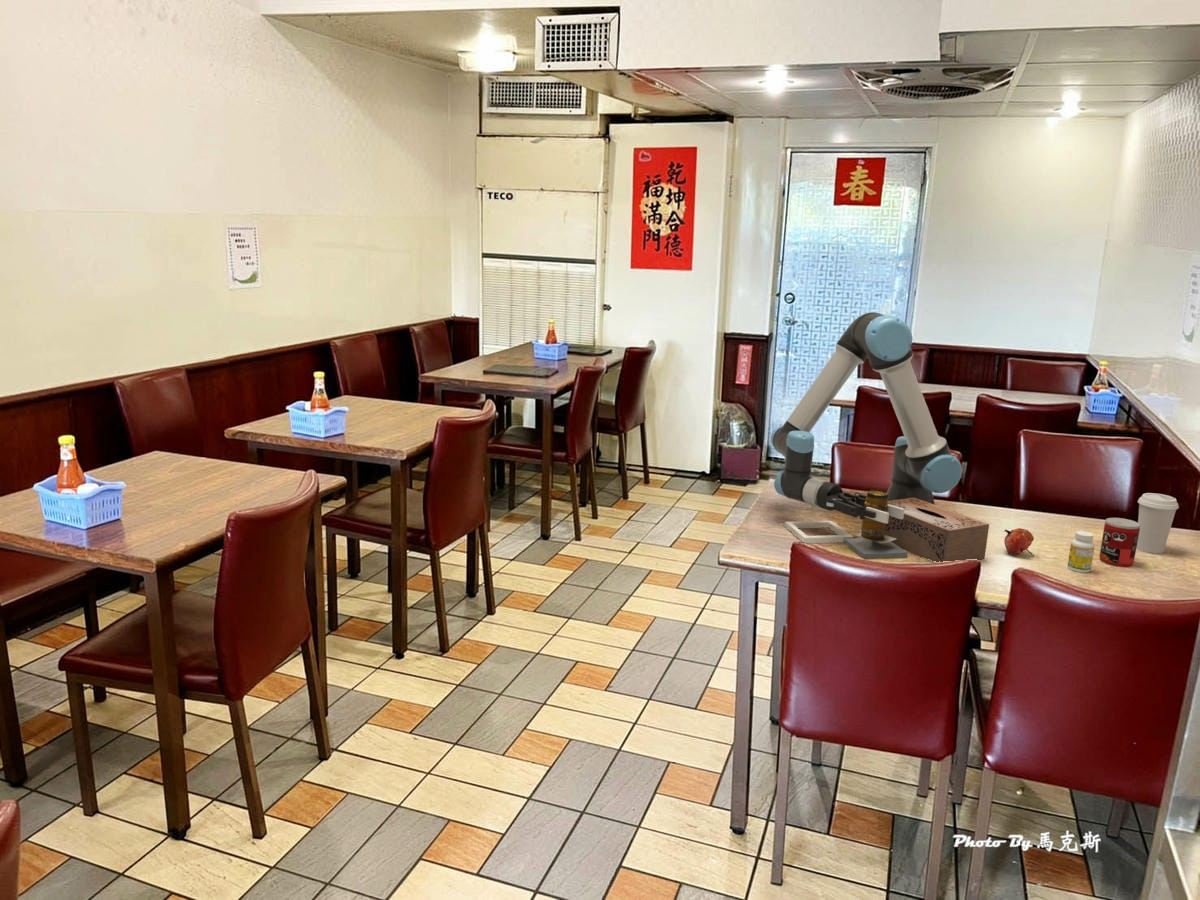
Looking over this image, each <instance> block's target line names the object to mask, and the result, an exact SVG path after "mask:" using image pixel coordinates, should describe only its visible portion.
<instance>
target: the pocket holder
mask: <svg viewBox="0 0 1200 900" xmlns="http://www.w3.org/2000/svg"><path fill="white" fill-rule="evenodd" d="M819 527H820V528H819ZM822 527H824V528H822ZM825 527H829V528H830V529H829V528H828V529H829V530H831V531H832V532H833V531H834V532H833V533H834V534H829V535H825V534H824V535H807V534H806V533H805V532H803V531H802V529H826V528H825ZM784 528H785V529H786V528H787V529H788V530H787V529H786V530H787V531H788V532H790V531H791V532H792V533H793V534H794V535H796V536H797V537H798V538H799V539H800V540H802V542H801V543H803V542H806V544H831V542H832V543H833V544H834V543H837V544H838V542H839V543H844V539H853V538H854V536H853V535H852V534H850V533H849V532H848V531H846V530H845V529H844V528H843V527H841V526H840V525H838V524H837V523H835V522H834V521H833V520H808V521H807V520H806V521H805V520H804V521H785V522H784ZM798 528H800V529H798ZM791 532H790V533H791ZM792 533H791V534H792ZM793 534H792V535H793ZM794 535H793V536H794ZM796 536H795V537H796ZM797 537H796V538H797ZM798 538H797V539H798ZM799 539H798V540H799ZM800 540H799V541H800Z"/></svg>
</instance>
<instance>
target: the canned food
mask: <svg viewBox="0 0 1200 900" xmlns="http://www.w3.org/2000/svg"><path fill="white" fill-rule="evenodd" d="M1103 526H1104V527H1103V532H1102V539H1101V543H1100V550H1099V560H1100V561H1101V562H1103V563H1105V564H1107V565H1110V566H1115V567H1121V568H1124V567H1125V568H1126V567H1132V566H1133V564H1134V562H1135V558H1136V553H1137V542H1138V537H1139V531H1140V524H1139V523H1138V521H1135V520H1132V519H1127V518H1121V517H1108V518H1106V519H1105V522H1104V525H1103Z"/></svg>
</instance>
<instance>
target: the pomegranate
mask: <svg viewBox="0 0 1200 900" xmlns="http://www.w3.org/2000/svg"><path fill="white" fill-rule="evenodd" d="M1003 532H1004V533H1005V532H1006V533H1007V534H1005V537H1004V540H1003V541H1004V547H1005V550H1006V551H1007V552H1008V553H1009V554H1010V555H1013V556H1021V555H1022V554H1023V552H1024V551H1027V552H1028V553H1029V554H1030V555H1032V556H1033V557H1035V555H1034V554H1033V553H1032V552H1031V551H1029V547H1030V546H1031V545H1032V543H1033V541H1034V540H1035V538H1034V535H1033V534H1032V533H1031V531H1029V530H1028V529H1025V528H1021V527H1020V528H1019V527H1018V528H1015V529H1012V530H1007V529H1004V530H1003Z"/></svg>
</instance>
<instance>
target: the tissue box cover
mask: <svg viewBox="0 0 1200 900" xmlns="http://www.w3.org/2000/svg"><path fill="white" fill-rule="evenodd" d="M887 504H889V505H892V506H895V507H899V508H902V509H905V510H904V518H903V519H898V518H895V517H892V516H889V519H888V523H887V524H886V530H885V535H887V536H890V537H892V538H896V540H892V541H891V542H893V543H894V544H896V545H897V546H899V547H900V548H901V549H903V550H904V551H906V552H907V553H911V554H912V553H913V555H915V556H917V555H918V556H917V557H919V556H920V557H919V558H922V557H924V558H926V559H930V560H932V561H936V562H939V561H940V562H943V561H955V560H966V559H977V560H980V561H984V560H985V558H986V550H987V544H988V539H989V538H988V537H989V530H990V529H989V528H990V523H988V522H984V521H981V520H978V519H976V518H973V517H970V516H968V515H964V514H962V513H959V512H957V511H953V510H950V509H948V508H945V507H943V506H939V505H936V504H935V505H934V504H931V503H928V502H925V501H923V500H920V499H917V498H907V499H900V500H892V501H888V502H887ZM924 558H923V559H924ZM926 559H925V560H926Z"/></svg>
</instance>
